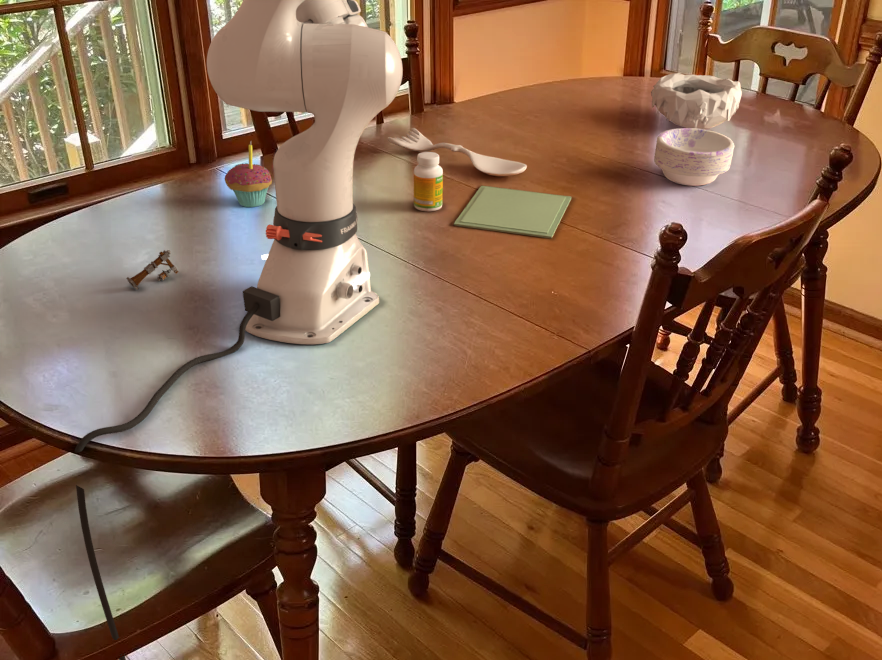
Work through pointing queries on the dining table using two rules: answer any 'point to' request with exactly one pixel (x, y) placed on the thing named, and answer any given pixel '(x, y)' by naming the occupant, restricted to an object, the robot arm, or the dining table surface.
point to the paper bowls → (693, 155)
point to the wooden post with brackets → (151, 267)
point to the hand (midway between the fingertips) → (359, 92)
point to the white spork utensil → (479, 161)
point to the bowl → (696, 99)
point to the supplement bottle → (428, 182)
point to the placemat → (514, 211)
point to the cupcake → (249, 182)
